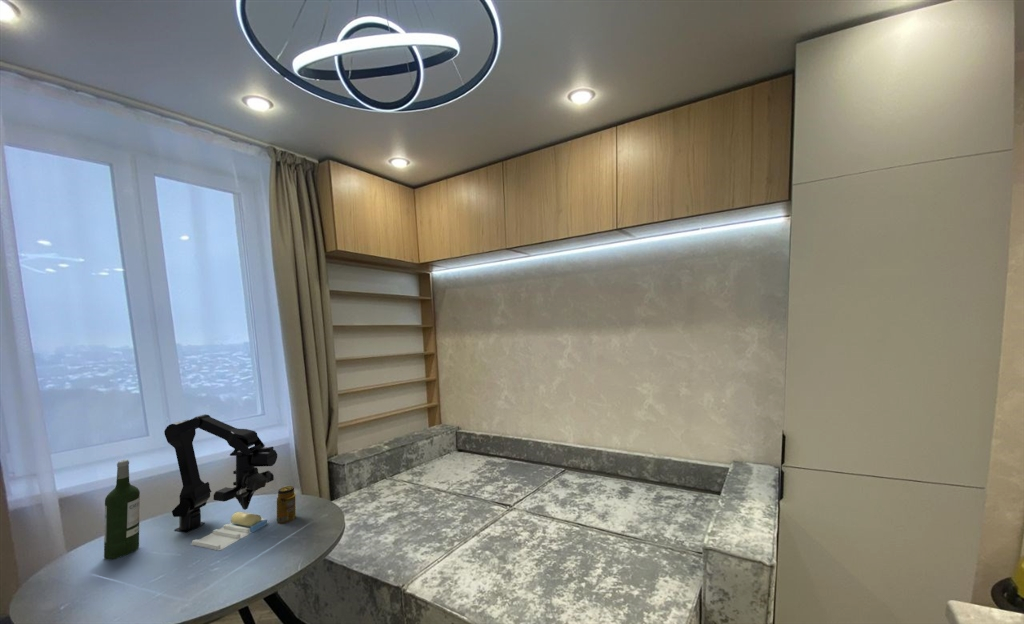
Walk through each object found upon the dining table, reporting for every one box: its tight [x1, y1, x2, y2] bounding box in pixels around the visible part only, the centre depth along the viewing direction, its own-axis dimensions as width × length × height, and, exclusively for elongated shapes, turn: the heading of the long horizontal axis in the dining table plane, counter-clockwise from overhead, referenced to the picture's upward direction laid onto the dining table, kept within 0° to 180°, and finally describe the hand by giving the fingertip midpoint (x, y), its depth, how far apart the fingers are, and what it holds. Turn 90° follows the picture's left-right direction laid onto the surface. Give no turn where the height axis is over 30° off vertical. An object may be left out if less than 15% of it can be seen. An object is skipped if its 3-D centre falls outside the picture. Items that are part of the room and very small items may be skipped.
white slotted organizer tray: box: [190, 517, 270, 551], centre depth 130 cm, size 14×18×2 cm
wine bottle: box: [103, 459, 141, 561], centre depth 121 cm, size 8×8×30 cm
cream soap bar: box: [230, 511, 262, 527], centre depth 135 cm, size 10×4×4 cm, turn 73°
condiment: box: [276, 485, 297, 525], centre depth 137 cm, size 7×8×12 cm
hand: (245, 509), depth 135 cm, fingers closed
